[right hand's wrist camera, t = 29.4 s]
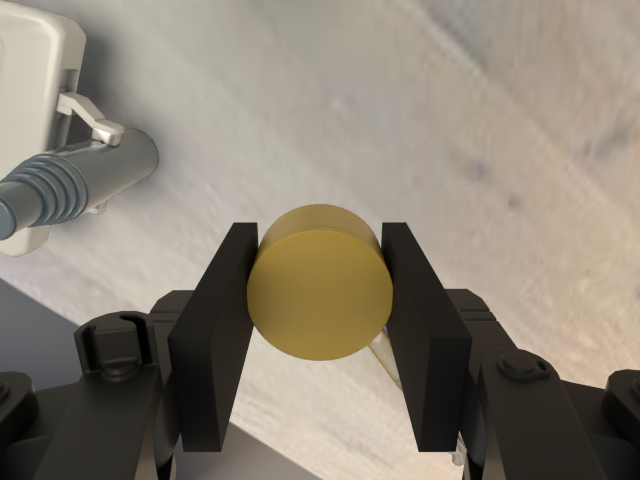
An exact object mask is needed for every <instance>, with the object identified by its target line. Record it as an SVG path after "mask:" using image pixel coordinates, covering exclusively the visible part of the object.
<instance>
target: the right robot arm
mask: <svg viewBox="0 0 640 480" xmlns="http://www.w3.org/2000/svg"><path fill="white" fill-rule="evenodd" d="M258 249H259V246H258V228H257V223H233V225H232V226H231V228H230V230H229V232H228V233H227V235H226V237H225V239H224V240H223V242H222V244H221V245H220V247H219V249H218V251H217V252H216V254H215V256H214V257H213V259H212V261H211V263H210V264H209V266H208V268H207V270H206V271H205V273H204V275H203V276H202V278H201V280H200V282H199V283H198V285H197V287H196V289H195V290H173V291H171V292H170V293H168V294H167V295H165V296H163V297H162V298H160V299H159V300H158V301H157V302H156V304H155V305H154V307H153V308H152V309H151V311H150V313H149V314H148V315H147V314H146V313H142V312H138V311H120V312H115V313H109V314H105V315H103V316H100V317H97V318H94V319H92V320H90V321H89V322H87V323H85V324H84V325H82V326H81V327H80V328H79V329H78V330H77V331H76V332H75V333H74V338H75V342H76V347H77V351H78V355H79V359H80V364H81V368H82V372H83V374H82V376H81V378H80V380H79V382H76V383H72V384H68V385H63V386H59V387H54V388H48V389H44V390H39V391H35V389H34V386H33V382H32V379H31V378H30V377H29V376H28V375H26V374H25V373H20V372H14V371H11V372H0V480H175V476H176V464H175V457H174V451H173V450H174V448H175V445H176V443H177V440H178V437H179V435H180V432H181V437H182V443H183V450H184V452H221V450H222V446H223V442H224V438H225V434H226V430H227V427H228V423H229V419H230V415H231V411H232V408H233V404H234V400H235V396H236V392H237V388H238V385H239V381H240V377H241V373H242V369H243V366H244V362H245V358H246V354H247V350H248V346H249V343H250V339H251V335H252V331H253V327H254V324H253V322H252V320H251V318H250V315H249V312H248V303H247V282H248V279H249V275H250V272H251V269H252V266H253V263H254V261H255V258H256V255H257V252H258ZM381 251H382V253H383V256H384V259H385V262H386V265H387V268H388V270H389V273H390V276H391V279H392V284H393V298H392V310H391V314H390V316H389V319H388V321H387V323H386V328H387V332H388V336H389V340H390V344H391V348H392V351H393V355H394V359H395V363H396V367H397V370H398V374H399V378H400V382H401V386H402V390H403V393H404V397H405V401H406V405H407V409H408V413H409V416H410V420H411V424H412V428H413V432H414V435H415V439H416V443H417V447H418V451H419V452H456V448H457V441H458V435H459V431H460V433H461V436H462V439H463V441H464V444H465V446H466V449H467V451H466V457H465V464H464V470H463V476H462V480H640V370H630V369H625V370H620V371H615V372H614V373H613V374H611V375H610V376H609V378H608V381H607V385H606V388H605V389H601V388H596V387H591V386H586V385H581V384H576V383H572V382H568V381H564V380H561V379H560V377H559V375H558V373H557V372H556V370H555V369H554V368H553V367H552V365H551V364H550V363H548V362H547V361H546V360H544V359H543V358H541V357H540V356H538V355H535V354H533V353H531V352H528V351H526V350H521V349H518V348H517V347H516V345H515V344H514V343H513V341H512V340H511V338H510V337H509V336H508V334H507V333H506V331H505V330H504V329H503V327H502V326H501V325H500V323H499V322H498V321H496V318H495V316H494V315H493V313H492V312H490V309H489V308H488V307H487V305H486V304H485V302H484V301H483V300H482V298H480V297H479V296H477V295H476V294H474V293H472V292H471V291H469V290H468V289H444V287H443V286H442V284H441V282H440V280H439V279H438V277H437V275H436V274H435V272H434V270H433V268H432V267H431V265H430V263H429V261H428V260H427V258H426V256H425V255H424V253H423V251H422V249H421V248H420V246H419V244H418V243H417V241H416V239H415V237H414V236H413V234H412V232H411V230H410V229H409V227H408V225H407V224H406V223H382V241H381Z"/></svg>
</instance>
